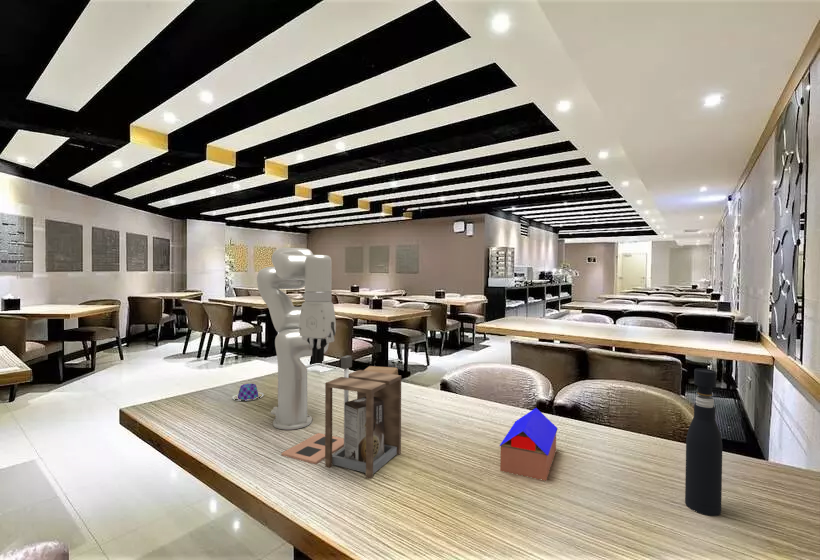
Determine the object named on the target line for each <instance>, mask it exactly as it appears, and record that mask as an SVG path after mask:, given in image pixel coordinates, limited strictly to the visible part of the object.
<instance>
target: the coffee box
mask: <svg viewBox="0 0 820 560" xmlns="http://www.w3.org/2000/svg"><path fill="white" fill-rule="evenodd" d="M383 454H385V453H384V400H381V399H379V398H376V397H374V416H373V462H375V461H376V460H377V459H378V458H380V457H381V456H382V455H383ZM344 458H348V459H352V460H356V461H360V462H365V463H366V397H362V398H359V399H357V398H356V399H352V400H348V402H345V457H344Z"/></svg>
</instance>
